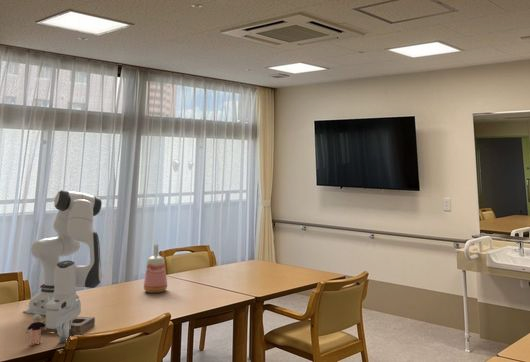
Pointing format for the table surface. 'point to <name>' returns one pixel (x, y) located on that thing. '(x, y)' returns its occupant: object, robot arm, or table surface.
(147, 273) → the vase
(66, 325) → the peg
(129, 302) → the table surface
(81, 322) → the peg board
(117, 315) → the table surface
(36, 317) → the grandmother figurine
